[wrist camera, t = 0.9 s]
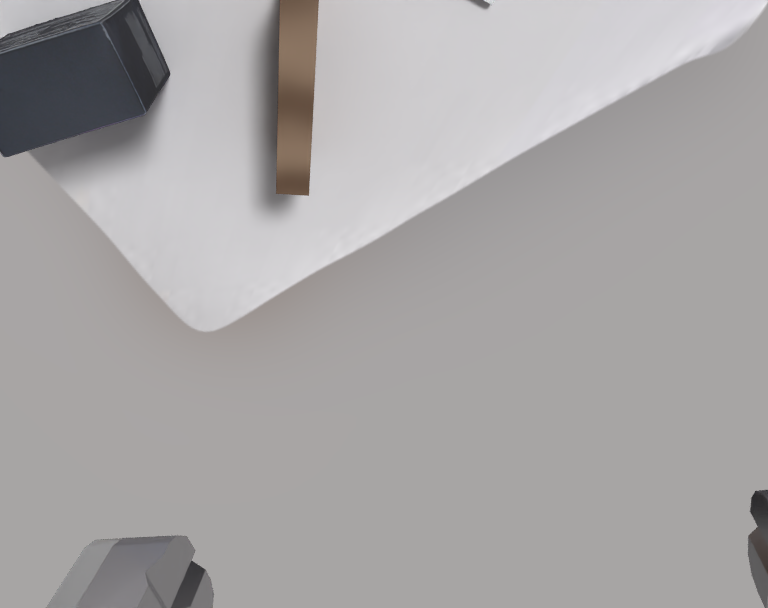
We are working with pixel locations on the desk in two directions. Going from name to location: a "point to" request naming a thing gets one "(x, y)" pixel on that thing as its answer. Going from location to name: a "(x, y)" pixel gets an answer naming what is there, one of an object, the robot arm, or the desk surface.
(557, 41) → the desk surface
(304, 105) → the walnut bookend
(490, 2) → the external hard drive
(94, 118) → the small box
